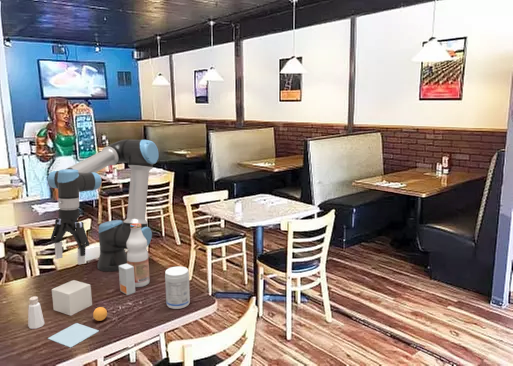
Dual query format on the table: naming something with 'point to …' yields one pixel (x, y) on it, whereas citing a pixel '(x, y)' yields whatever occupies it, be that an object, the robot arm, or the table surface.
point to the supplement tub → (177, 287)
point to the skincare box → (127, 279)
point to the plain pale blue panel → (73, 335)
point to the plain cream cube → (71, 297)
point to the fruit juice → (138, 255)
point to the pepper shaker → (35, 314)
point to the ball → (100, 313)
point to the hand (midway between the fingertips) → (70, 261)
